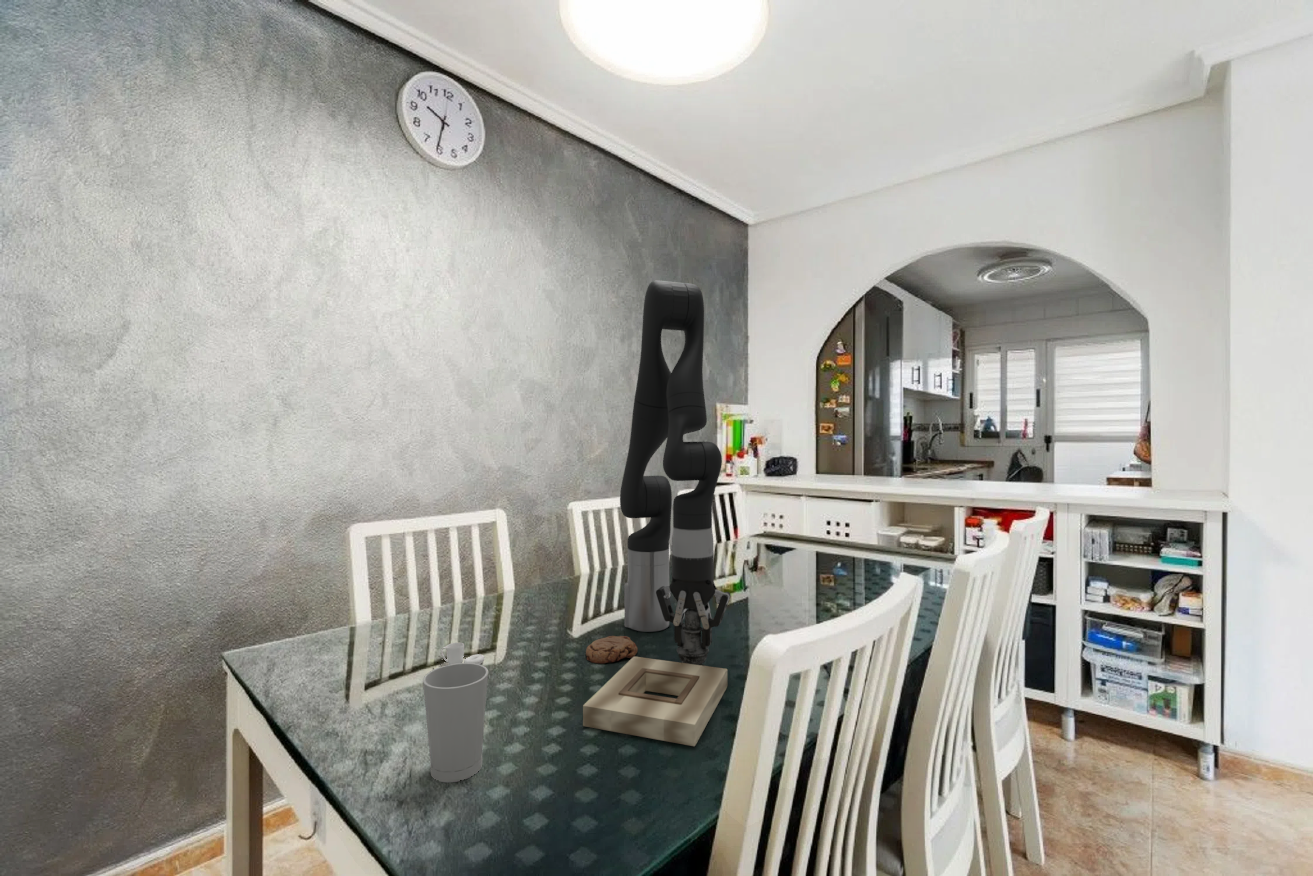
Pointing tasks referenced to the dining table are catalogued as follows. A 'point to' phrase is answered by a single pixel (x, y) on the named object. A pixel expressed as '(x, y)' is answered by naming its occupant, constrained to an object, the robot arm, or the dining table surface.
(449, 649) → the teacup and saucer
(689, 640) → the dark grey tall piece
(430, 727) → the cup
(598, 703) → the birch frame
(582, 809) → the dining table surface
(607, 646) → the cookie
